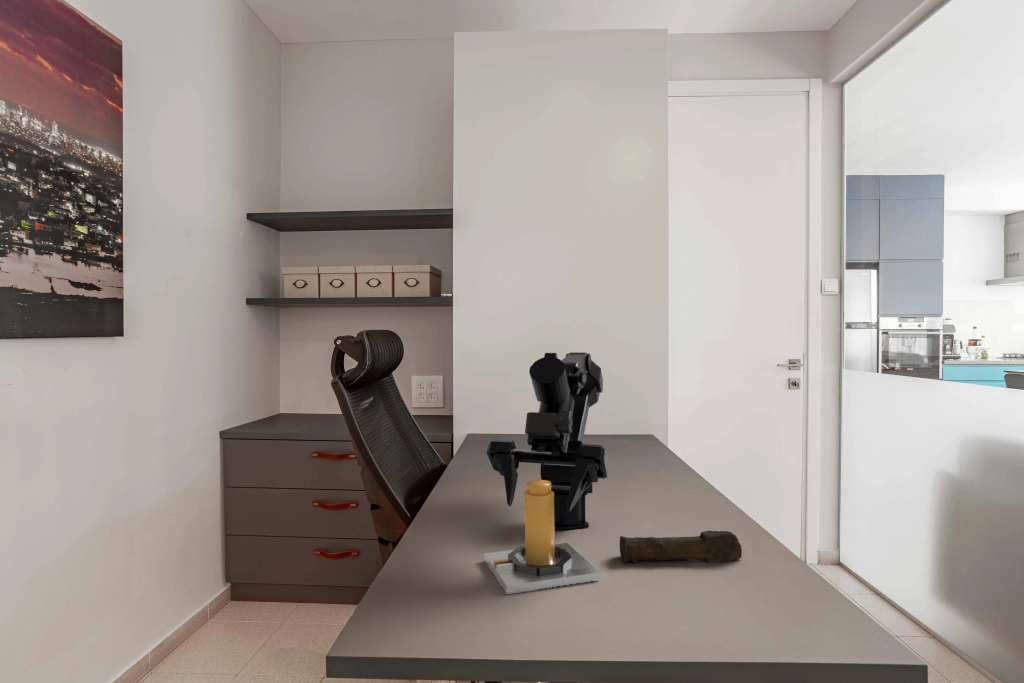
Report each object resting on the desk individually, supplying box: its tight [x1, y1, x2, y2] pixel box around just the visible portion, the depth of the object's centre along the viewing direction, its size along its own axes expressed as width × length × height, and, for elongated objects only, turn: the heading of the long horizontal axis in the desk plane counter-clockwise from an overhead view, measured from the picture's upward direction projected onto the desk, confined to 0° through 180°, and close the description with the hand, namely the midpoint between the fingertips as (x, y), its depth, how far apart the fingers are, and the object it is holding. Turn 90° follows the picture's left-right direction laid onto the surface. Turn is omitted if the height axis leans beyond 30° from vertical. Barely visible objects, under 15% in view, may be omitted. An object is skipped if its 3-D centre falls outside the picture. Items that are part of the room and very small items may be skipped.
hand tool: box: [619, 530, 743, 564], centre depth 89 cm, size 19×4×5 cm, turn 88°
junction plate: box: [484, 542, 601, 595], centre depth 85 cm, size 14×12×2 cm
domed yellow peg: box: [524, 479, 556, 566], centre depth 85 cm, size 4×4×12 cm
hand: (538, 507), depth 85 cm, fingers open, 9 cm apart
